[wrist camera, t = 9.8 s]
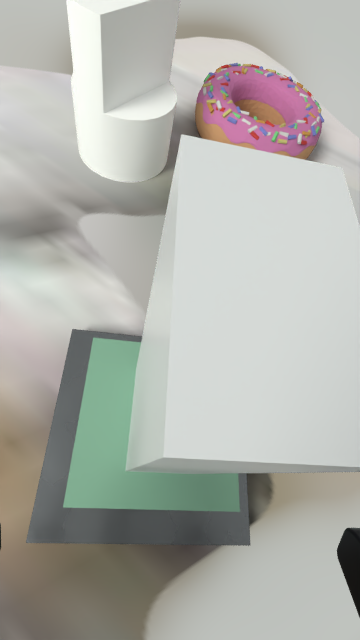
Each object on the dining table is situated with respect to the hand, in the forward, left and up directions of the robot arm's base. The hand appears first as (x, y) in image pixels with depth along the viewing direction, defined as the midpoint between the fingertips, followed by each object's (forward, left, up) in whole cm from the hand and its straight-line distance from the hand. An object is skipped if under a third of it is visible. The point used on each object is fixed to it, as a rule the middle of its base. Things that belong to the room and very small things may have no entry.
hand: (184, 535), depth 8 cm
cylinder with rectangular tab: (+31, +5, -12) cm, 34 cm away
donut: (+38, -9, -12) cm, 41 cm away
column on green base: (+4, 0, -8) cm, 9 cm away
